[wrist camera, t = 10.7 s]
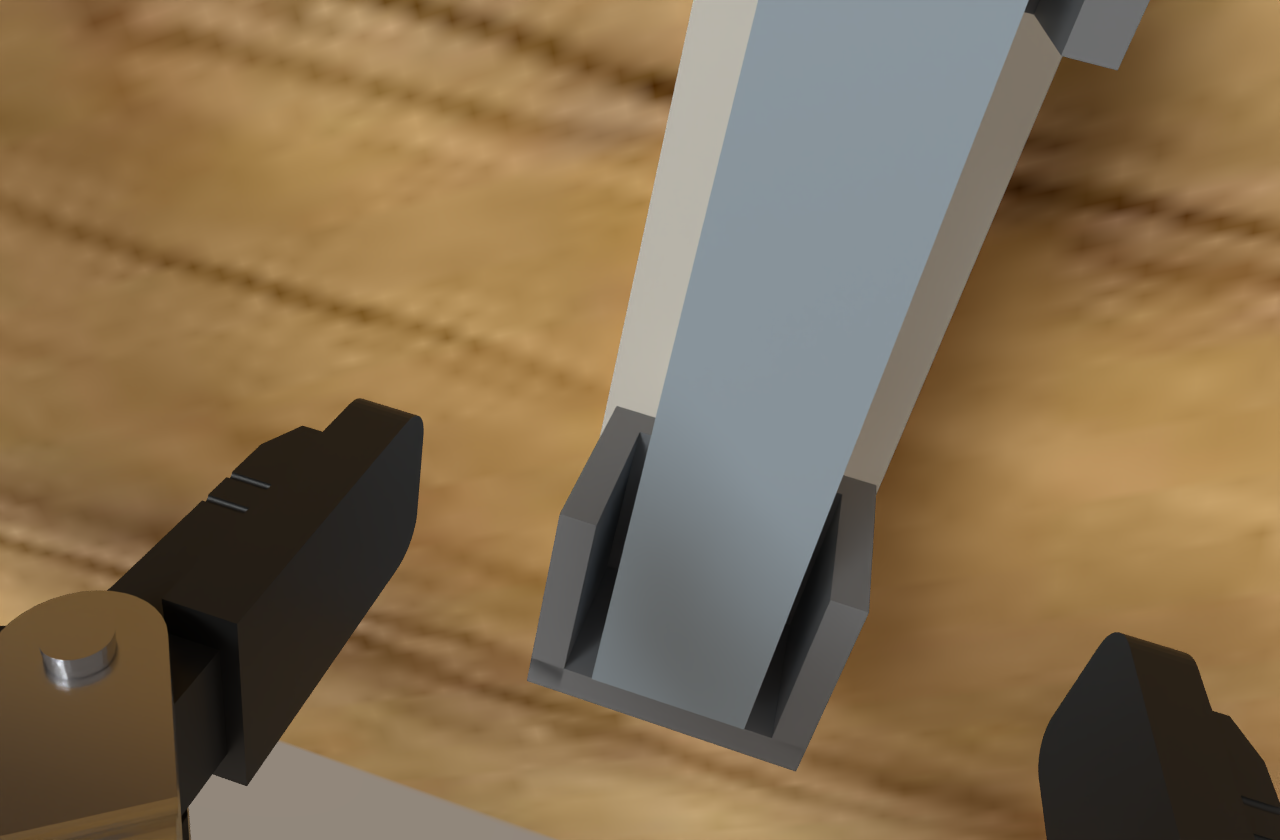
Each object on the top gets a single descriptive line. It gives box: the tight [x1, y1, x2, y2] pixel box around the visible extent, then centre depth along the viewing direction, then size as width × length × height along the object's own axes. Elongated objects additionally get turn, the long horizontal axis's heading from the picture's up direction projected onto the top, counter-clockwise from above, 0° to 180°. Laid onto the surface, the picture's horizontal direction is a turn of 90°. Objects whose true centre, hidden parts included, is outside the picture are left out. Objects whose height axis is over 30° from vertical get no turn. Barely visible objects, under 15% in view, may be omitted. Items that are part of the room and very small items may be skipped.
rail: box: [592, 0, 1029, 729], centre depth 18 cm, size 18×4×4 cm, turn 169°
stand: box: [527, 0, 1150, 771], centre depth 22 cm, size 22×9×12 cm, turn 168°
